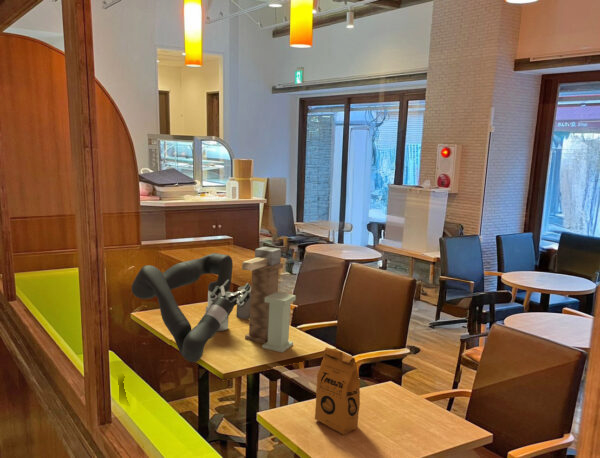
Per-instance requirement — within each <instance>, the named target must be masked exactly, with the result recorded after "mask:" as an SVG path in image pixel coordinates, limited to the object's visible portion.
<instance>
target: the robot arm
mask: <svg viewBox="0 0 600 458" xmlns="http://www.w3.org/2000/svg"><path fill="white" fill-rule="evenodd" d="M233 267H234V265H233V259H232V257H231V256H230V255H229V254H228V255H227V254H222V253H217V252H216V253H215V252H214V253H213V252H212V253H210V254H207V255H204V256H202V257H199V258H195V259H190V260H186V261H181V262H179V263H176V264H173V265H172V266H171V267H169V268H167V269H166V270H165V271H164V272H162V271H161V270H160V269H159V268H158V267H156V266H153V265H148V264H147V265H144V266H142V267H141V268H140V270H139V271H138V273H137V275H136V276H135V278H134V280H133V282H132V284H131V293H132V295H134V296H135V297H136V298H138V299H142V300H149V299H153V298H155V297H156V299H157V301H158V306H159V311H160V316H161V319H162V322H163V324H164V325H165V326H166V328H167V330H168V331H169V333H170V335H171V336H172V337H173V339H174V342H175V344H176V346H177V349H178V351H179V353H180V354H181V356H182V357H183V358H184V359H185V360H186V361H188V362H190V363H195V362H198V361H199V360H201V358H202V357H203V355H204V354H203V353H204V350H205V346H206V344H207V342H208V341H209V340H211V339H212V338H213V337H215V335H216V333H217V332H222V331H223V332H224V331H227V330H228V328H229V316H230V314H232V311H233V309H234V307H235V306H237V304H238V305H240V307H243V306H244V305H245V303H246V302H247V301H248V299H249V298H250V295H249V290H250V286H251V285H250V282H246V283H245V285H244V286H245V287H244V288H243V290H241V291H238V290H237V291H235V292H234V291H232V292H231V291H230V289H231V284H232V277H233V276H232V275H233V269H234V268H233ZM207 274H209V275H215V276H217V280H216V281H211V282H209V283H208V286H207V287H208V290H207V291H208V292H207V305H206V306H205V313H204V314H203V316H202V317H201V318H200V319H199V321H198V323H197V325H195V326H194V327H193V328H192V325H191V323H190V322H189V320H188V318H187V317H186V316H185V314H184V313H183V311H182V310H181V308H180V306H179V305H178V303H177V301H176V299H175V297H174V295H173V292H172V290H175V289H179V288H180V287H185V286H187V285H191V284H193V283H196V282H197V281H199V279H201V278H200V277H201V276H202V275H207ZM242 293H243V294H242ZM241 294H242V295H241ZM237 295H238V298H237Z"/></svg>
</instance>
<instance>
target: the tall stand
mask: <svg viewBox="0 0 600 458" xmlns="http://www.w3.org/2000/svg"><path fill="white" fill-rule="evenodd" d="M282 268H284V262H280V263H278V264H276V265H273V266H269V265H267V266H264V267H261V268H258V269H255V270H252V271H251V280H250V281H251V282H250V283H251V285H250V286H251V302H250V319H249V327H248V328H249V329H248V333H247V334H246V335H244V339H245V340H249V341H252V342H257V343H262V344H265V343H266V342H268V325H269V305H270V303H266V302H265V297H266V296H269V295H271V294H273V293H275V292H278V291H279V276H280V274H279V273H280V269H282Z"/></svg>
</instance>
